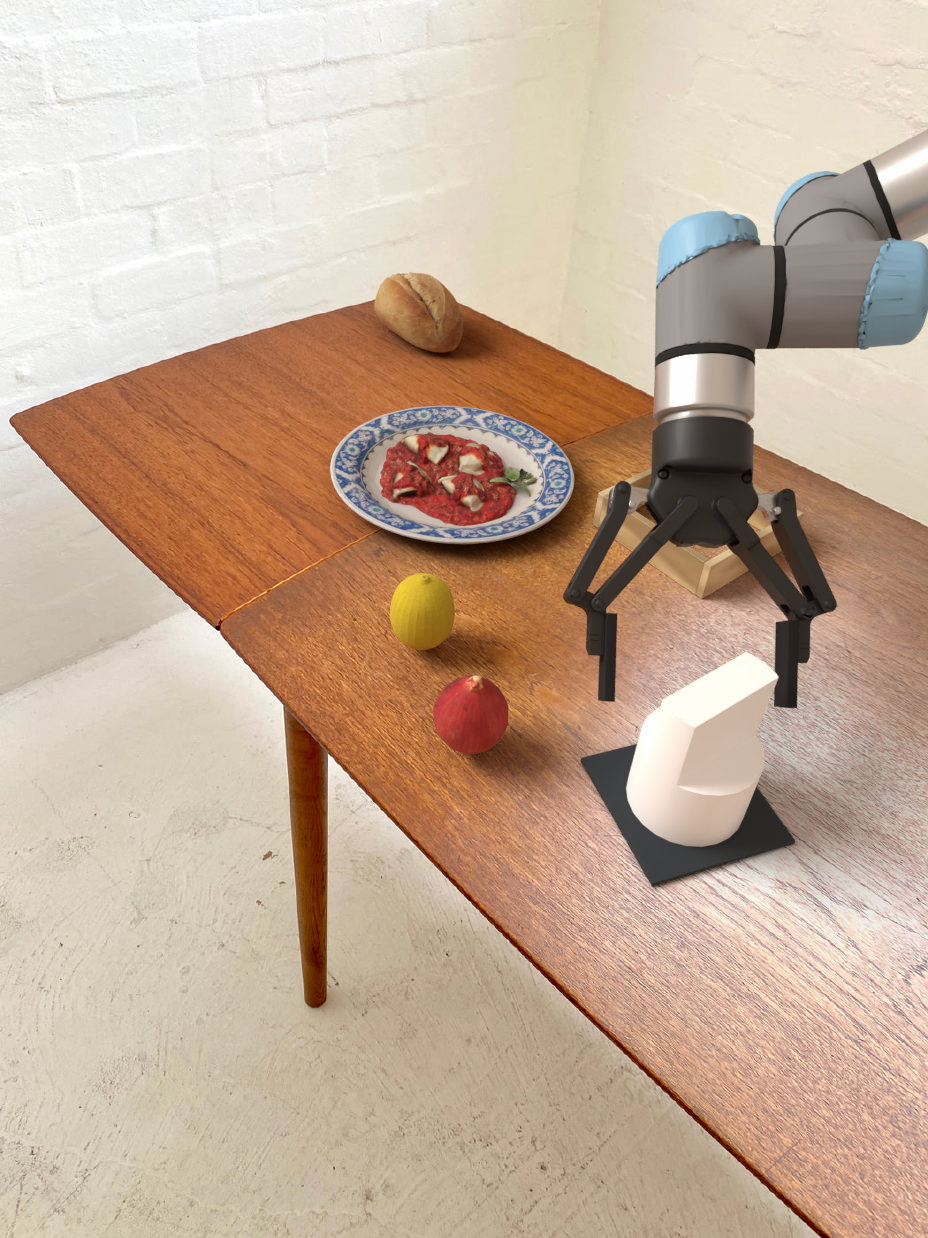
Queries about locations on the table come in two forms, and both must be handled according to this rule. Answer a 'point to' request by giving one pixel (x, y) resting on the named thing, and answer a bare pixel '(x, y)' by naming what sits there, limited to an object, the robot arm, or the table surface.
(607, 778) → the slate mat
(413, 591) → the lemon
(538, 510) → the ceramic plate
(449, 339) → the bread roll
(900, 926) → the table surface
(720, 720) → the cylinder with rectangular tab
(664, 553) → the square wooden frame
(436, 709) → the onion
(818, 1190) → the table surface
